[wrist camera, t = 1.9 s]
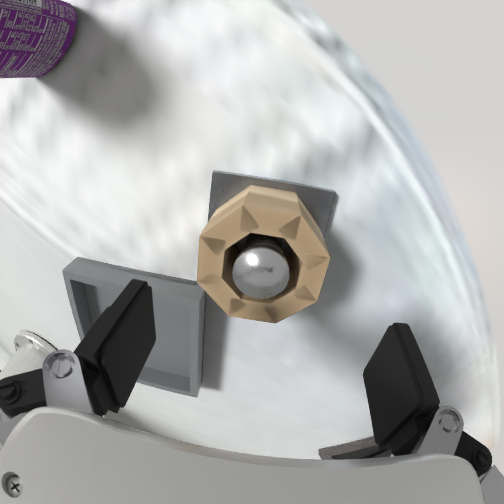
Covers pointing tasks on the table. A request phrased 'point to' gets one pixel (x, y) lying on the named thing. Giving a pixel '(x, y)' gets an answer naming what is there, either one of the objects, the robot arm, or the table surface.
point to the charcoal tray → (165, 315)
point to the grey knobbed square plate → (264, 246)
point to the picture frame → (354, 450)
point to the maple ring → (267, 223)
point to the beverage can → (34, 36)
